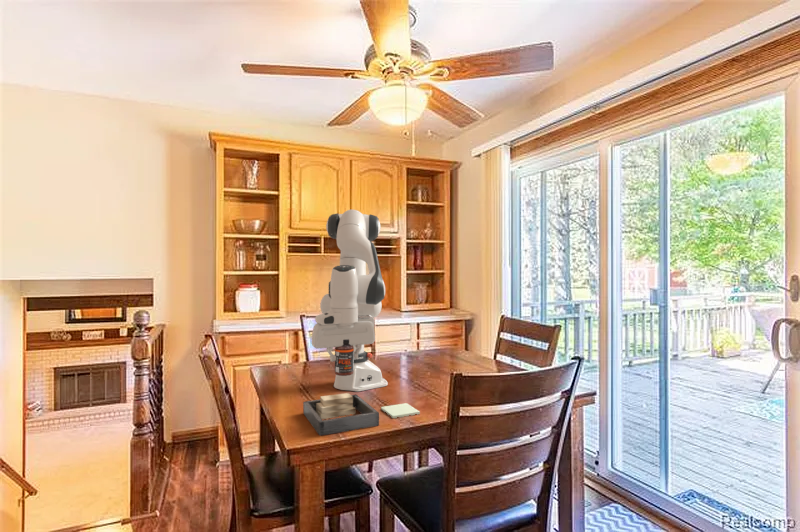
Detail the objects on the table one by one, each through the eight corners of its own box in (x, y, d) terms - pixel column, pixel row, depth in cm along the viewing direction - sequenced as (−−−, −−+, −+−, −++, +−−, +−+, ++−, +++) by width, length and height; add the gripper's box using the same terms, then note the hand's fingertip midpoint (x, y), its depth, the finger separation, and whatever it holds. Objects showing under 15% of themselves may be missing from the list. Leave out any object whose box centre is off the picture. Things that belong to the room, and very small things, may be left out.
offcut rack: (356, 405, 153) (356, 394, 153) (379, 425, 134) (379, 412, 134) (303, 413, 145) (303, 401, 145) (319, 435, 126) (319, 422, 126)
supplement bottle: (337, 377, 132) (337, 340, 132) (332, 372, 137) (332, 337, 137) (356, 375, 134) (355, 339, 134) (350, 370, 140) (350, 336, 139)
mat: (406, 405, 154) (406, 403, 154) (419, 414, 145) (419, 411, 145) (381, 409, 149) (381, 407, 149) (393, 418, 140) (393, 416, 140)
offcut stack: (349, 409, 150) (349, 392, 150) (355, 414, 145) (355, 397, 145) (315, 414, 145) (315, 396, 145) (320, 420, 139) (320, 402, 139)
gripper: (370, 313, 143) (370, 354, 143) (310, 317, 134) (310, 360, 134) (378, 315, 137) (378, 358, 137) (315, 319, 128) (315, 365, 128)
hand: (344, 359), depth 136 cm, fingers closed on supplement bottle, 6 cm apart
